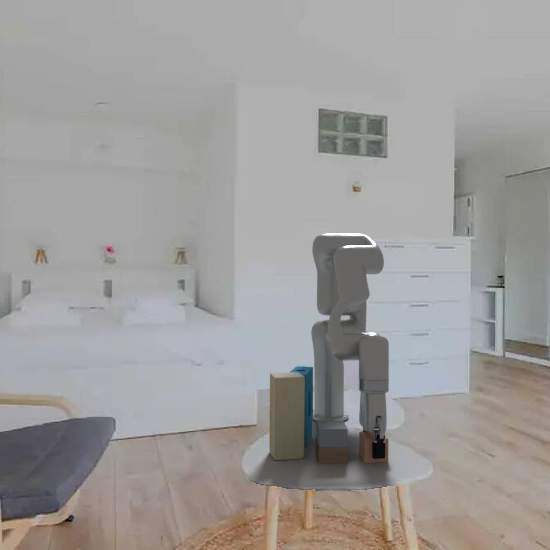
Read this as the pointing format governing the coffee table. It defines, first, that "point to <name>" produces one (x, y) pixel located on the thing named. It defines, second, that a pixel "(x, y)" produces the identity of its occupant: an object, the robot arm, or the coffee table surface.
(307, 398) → the block
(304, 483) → the coffee table surface
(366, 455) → the terracotta cube
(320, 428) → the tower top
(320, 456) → the tower bottom
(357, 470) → the coffee table surface
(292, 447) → the cream box
